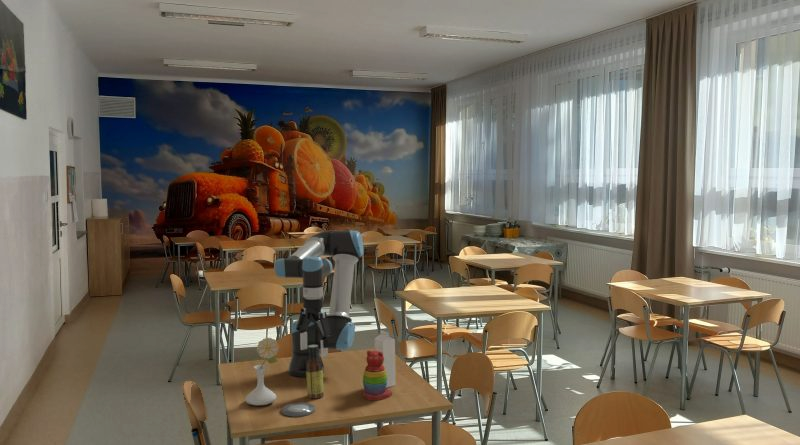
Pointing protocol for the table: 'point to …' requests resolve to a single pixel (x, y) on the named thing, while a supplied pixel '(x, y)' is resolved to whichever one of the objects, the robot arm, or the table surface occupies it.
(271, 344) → the flower in vase
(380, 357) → the stacking bear
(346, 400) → the table surface
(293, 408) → the coaster
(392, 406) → the table surface
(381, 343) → the milk
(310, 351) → the sauce bottle
